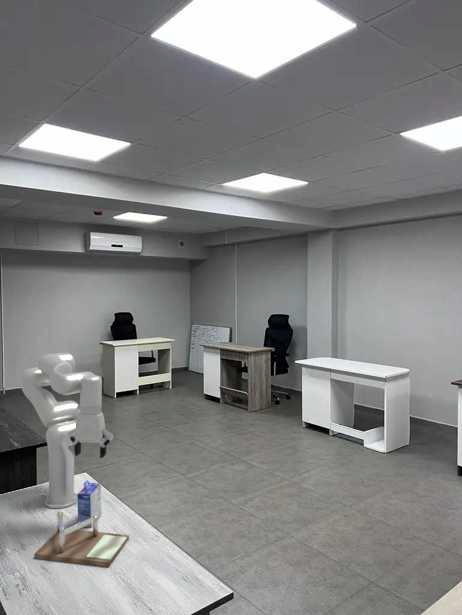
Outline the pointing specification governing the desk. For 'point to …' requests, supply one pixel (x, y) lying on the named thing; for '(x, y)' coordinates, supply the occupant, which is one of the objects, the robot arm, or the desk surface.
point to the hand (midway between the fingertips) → (90, 455)
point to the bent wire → (64, 532)
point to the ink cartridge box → (89, 502)
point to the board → (84, 548)
